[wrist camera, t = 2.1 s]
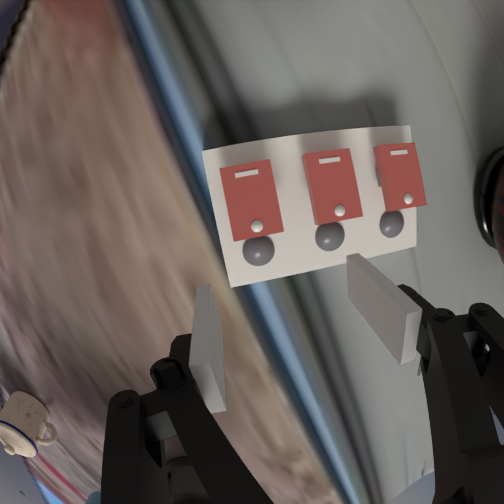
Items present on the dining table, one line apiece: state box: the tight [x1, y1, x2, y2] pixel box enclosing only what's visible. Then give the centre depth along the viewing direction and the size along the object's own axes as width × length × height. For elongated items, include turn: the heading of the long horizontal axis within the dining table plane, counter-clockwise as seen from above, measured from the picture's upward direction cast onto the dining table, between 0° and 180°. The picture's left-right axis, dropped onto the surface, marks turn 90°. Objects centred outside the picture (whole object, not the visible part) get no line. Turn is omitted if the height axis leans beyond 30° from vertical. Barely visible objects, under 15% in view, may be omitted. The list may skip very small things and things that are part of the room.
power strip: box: [202, 125, 416, 287], centre depth 32 cm, size 22×14×3 cm, turn 100°
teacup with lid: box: [0, 391, 57, 457], centre depth 35 cm, size 12×9×12 cm
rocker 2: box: [301, 148, 363, 225], centre depth 28 cm, size 4×6×3 cm
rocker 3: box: [373, 143, 427, 211], centre depth 28 cm, size 4×6×3 cm
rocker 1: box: [219, 159, 284, 242], centre depth 28 cm, size 4×6×3 cm
